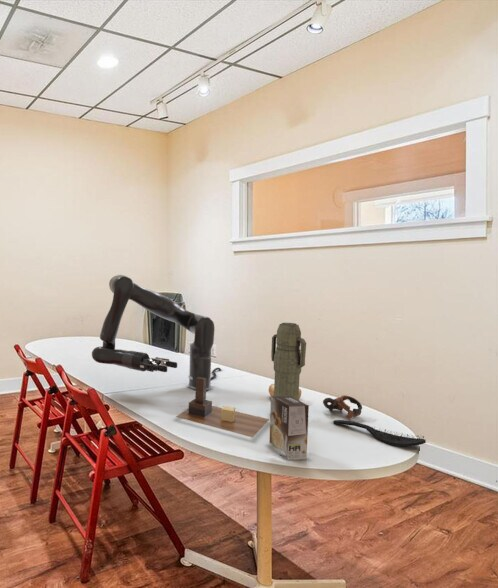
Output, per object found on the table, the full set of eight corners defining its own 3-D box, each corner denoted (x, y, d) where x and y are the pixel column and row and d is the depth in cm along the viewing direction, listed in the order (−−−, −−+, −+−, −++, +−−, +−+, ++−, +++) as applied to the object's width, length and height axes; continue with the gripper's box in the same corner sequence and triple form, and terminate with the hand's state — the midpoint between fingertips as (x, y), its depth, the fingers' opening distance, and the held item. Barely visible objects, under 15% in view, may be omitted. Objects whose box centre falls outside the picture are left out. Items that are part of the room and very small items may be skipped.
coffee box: (308, 459, 115) (310, 405, 114) (287, 460, 115) (289, 406, 114) (287, 445, 124) (289, 395, 123) (267, 446, 124) (269, 395, 123)
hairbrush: (339, 412, 144) (430, 434, 123) (339, 422, 145) (430, 446, 123) (327, 417, 140) (419, 440, 119) (327, 427, 140) (419, 453, 119)
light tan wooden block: (222, 416, 144) (223, 405, 144) (234, 418, 142) (235, 407, 142) (220, 420, 141) (221, 409, 141) (233, 422, 139) (233, 411, 139)
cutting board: (197, 406, 159) (197, 402, 159) (269, 423, 142) (269, 419, 142) (175, 420, 144) (175, 416, 144) (252, 441, 127) (252, 437, 127)
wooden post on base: (196, 407, 153) (197, 374, 152) (211, 411, 149) (212, 377, 148) (188, 413, 148) (189, 378, 147) (204, 417, 144) (205, 381, 143)
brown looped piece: (348, 411, 155) (360, 397, 150) (356, 430, 147) (368, 415, 142) (315, 401, 157) (326, 387, 152) (321, 419, 149) (333, 405, 145)
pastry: (270, 393, 175) (271, 373, 175) (302, 398, 169) (303, 377, 168) (266, 400, 166) (267, 379, 165) (299, 406, 159) (300, 384, 158)
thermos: (296, 425, 140) (301, 326, 138) (263, 415, 150) (266, 322, 147) (308, 419, 145) (312, 324, 143) (275, 410, 155) (278, 320, 152)
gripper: (126, 354, 160) (163, 361, 149) (144, 349, 171) (180, 354, 160) (126, 372, 160) (163, 380, 150) (143, 366, 171) (179, 373, 160)
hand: (172, 367), depth 155 cm, fingers open, 8 cm apart
